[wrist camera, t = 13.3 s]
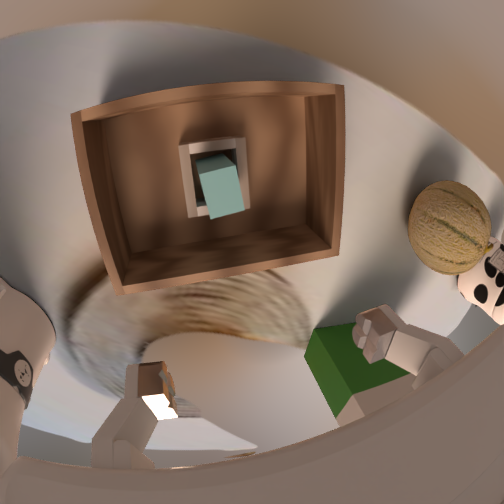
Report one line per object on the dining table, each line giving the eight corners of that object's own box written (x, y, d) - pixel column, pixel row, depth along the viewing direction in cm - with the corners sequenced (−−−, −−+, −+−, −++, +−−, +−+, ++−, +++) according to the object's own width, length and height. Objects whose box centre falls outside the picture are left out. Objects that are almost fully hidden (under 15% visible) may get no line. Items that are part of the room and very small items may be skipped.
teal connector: (203, 193, 30) (210, 219, 23) (195, 160, 28) (199, 174, 21) (229, 187, 30) (244, 210, 23) (222, 153, 28) (235, 165, 21)
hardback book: (386, 316, 51) (454, 399, 30) (373, 342, 54) (431, 422, 34) (313, 328, 46) (380, 442, 26) (303, 356, 49) (357, 461, 29)
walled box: (127, 257, 32) (116, 295, 25) (97, 113, 23) (70, 113, 16) (309, 227, 36) (338, 255, 29) (308, 89, 27) (344, 85, 21)
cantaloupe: (387, 183, 36) (464, 223, 23) (444, 161, 37) (512, 189, 24) (392, 261, 44) (448, 312, 31) (443, 231, 44) (497, 268, 31)
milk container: (466, 292, 59) (505, 328, 44) (442, 286, 53) (491, 331, 37) (493, 239, 53) (537, 271, 37) (474, 222, 46) (531, 259, 31)
